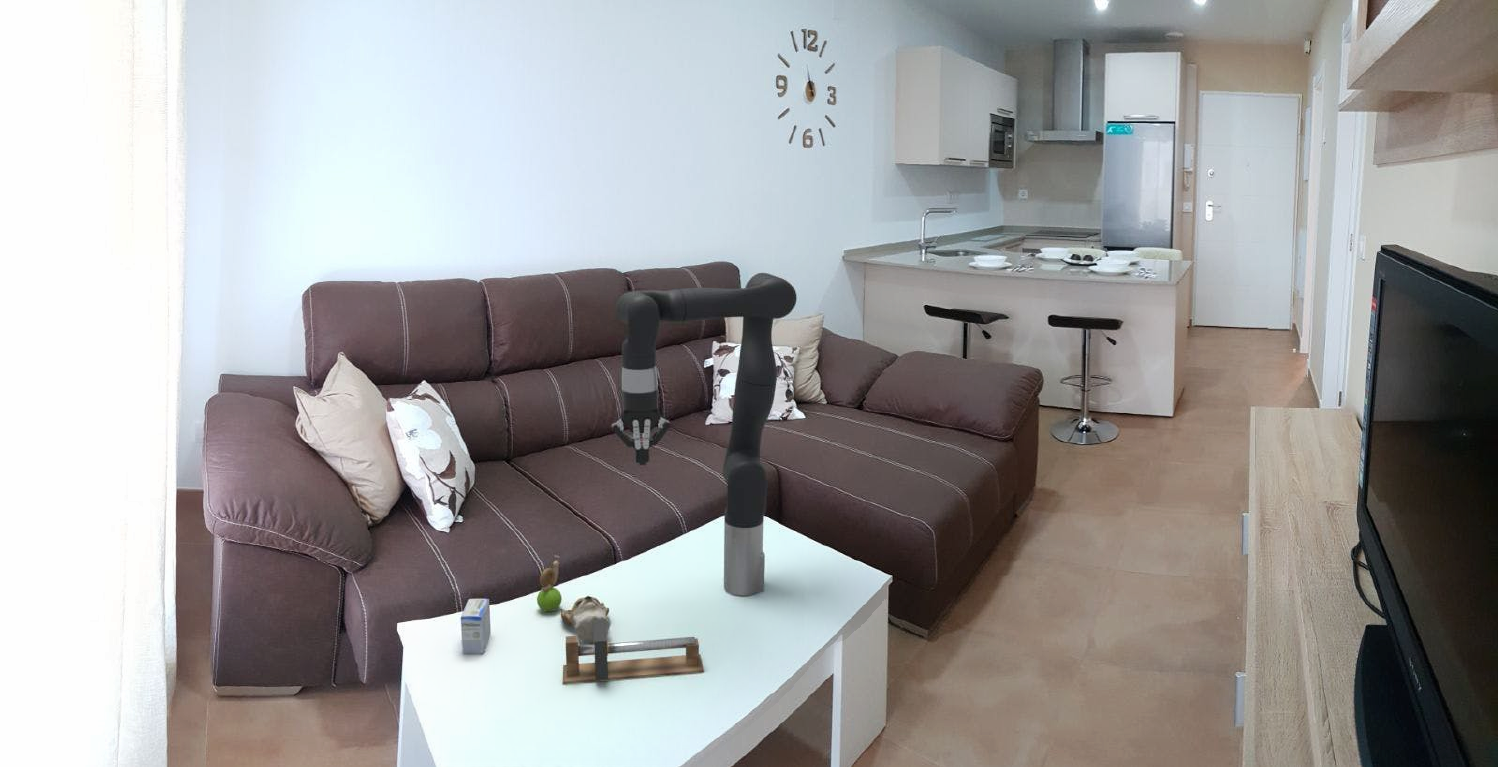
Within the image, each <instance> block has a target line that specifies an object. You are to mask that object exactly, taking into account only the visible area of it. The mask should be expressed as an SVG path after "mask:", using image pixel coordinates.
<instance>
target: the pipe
mask: <svg viewBox="0 0 1498 767" xmlns="http://www.w3.org/2000/svg"><path fill="white" fill-rule="evenodd" d="M695 638H696V637H695V636H686V637H685V636H684V637H674V638H661V639H660V638H659V639H650V640H649V639H647V640H636V641H635V640H634V641H623V642H622V641H621V642H611V643H610V642H608V641H607V656H609V654H610V655H611V654H612V655H613V654H622V653H623V654H624V653H625V654H626V653H633V652H634V653H636V652H647V651H648V652H649V651H660V650H661V651H662V650H673V649H686V648H687V645H694V644H695ZM578 656H579V657H584V656H585V657H587V656H595V645H594V644H585V645H584V644H583V645H578Z"/></svg>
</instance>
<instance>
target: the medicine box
mask: <svg viewBox="0 0 1498 767" xmlns="http://www.w3.org/2000/svg"><path fill="white" fill-rule="evenodd" d="M490 611H491V610H490V599H489V598H469V599H467V602H466V605H465V606H464V609H463V612H462V614H461V616H460V627H461V628H460V631H461V632H460V633H461V646H462V653H463V654H464V655H465V654H473V655H474V654H484V653H485V650H486V647H487V645H488V642H489V638H490V636H491V612H490Z"/></svg>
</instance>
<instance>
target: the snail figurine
mask: <svg viewBox="0 0 1498 767" xmlns="http://www.w3.org/2000/svg"><path fill="white" fill-rule="evenodd" d="M554 558H555V559H559V558H560V556H559V555H554ZM552 565H553V568H551V567H547V568H545V569H543V571H541V573H540V576H539V583H540V586H542V587H541V590H540V591H539V592H538V594H537V597H536V602H537V606H538V607H539V609H540V610H542V611H545V612H553V611H556V610H557V609H558V608H559V607H560V605H561V604H562V594H561V592H560V591H559V590H558V588H555V587H554V586H555V584H556V583H557V580H558V576H559V565H560V561H559V560H554V561H553V563H552Z"/></svg>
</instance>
